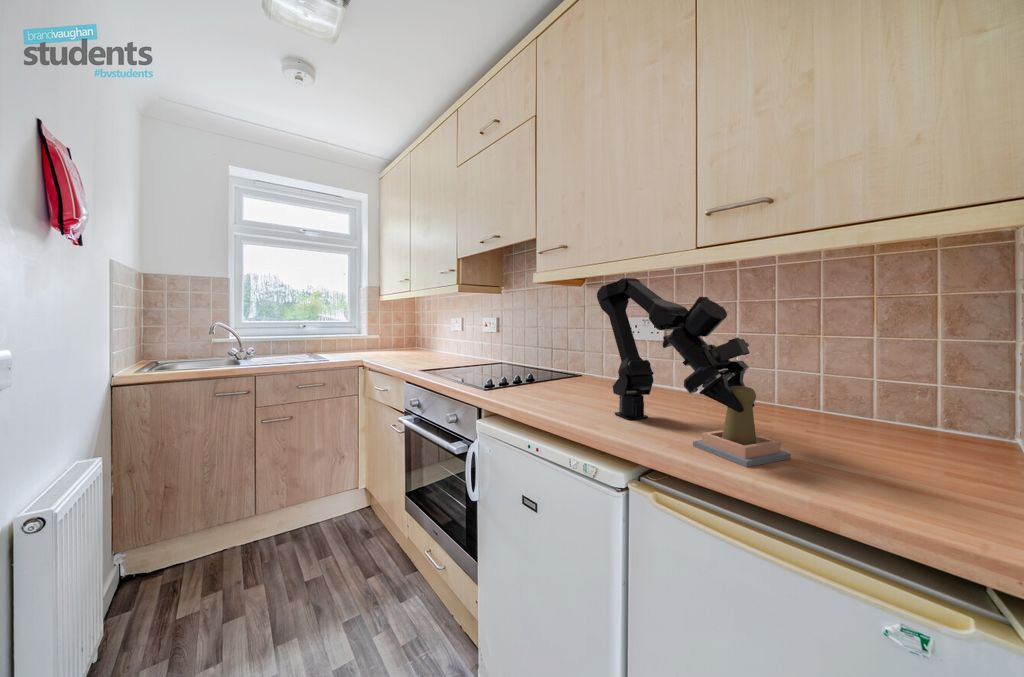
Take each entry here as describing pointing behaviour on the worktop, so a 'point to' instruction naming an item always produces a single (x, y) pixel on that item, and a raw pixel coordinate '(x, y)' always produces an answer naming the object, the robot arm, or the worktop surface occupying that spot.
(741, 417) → the olive pepper mill
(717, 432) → the stand
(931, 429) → the worktop surface
